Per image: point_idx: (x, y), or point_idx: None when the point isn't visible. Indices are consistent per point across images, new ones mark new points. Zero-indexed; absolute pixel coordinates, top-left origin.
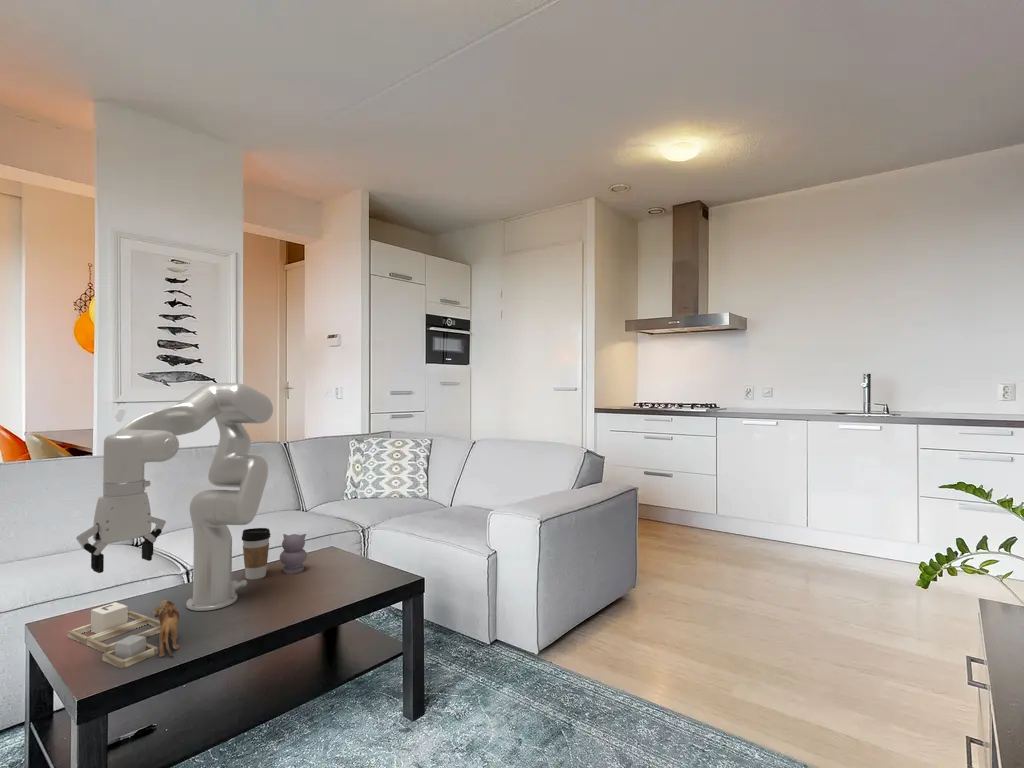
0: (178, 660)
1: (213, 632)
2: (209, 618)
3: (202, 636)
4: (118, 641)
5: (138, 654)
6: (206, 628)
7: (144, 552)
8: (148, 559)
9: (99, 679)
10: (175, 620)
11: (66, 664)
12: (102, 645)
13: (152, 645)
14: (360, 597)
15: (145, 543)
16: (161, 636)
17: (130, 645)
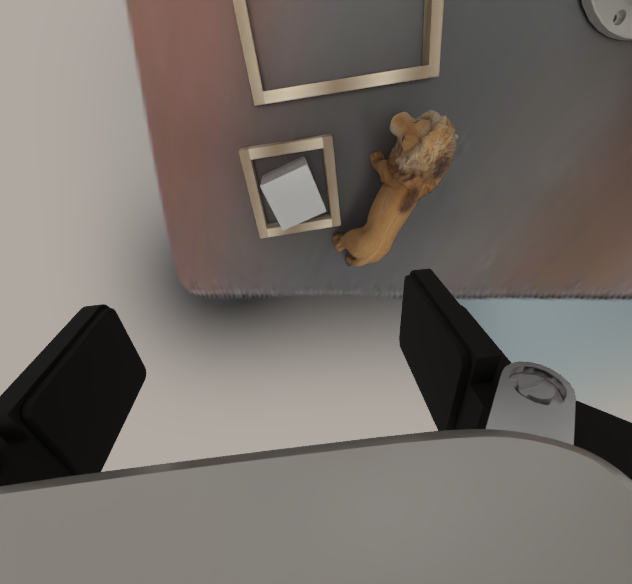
0: (348, 280)
1: (468, 206)
2: (536, 96)
3: (442, 207)
4: (268, 184)
5: (298, 227)
6: (479, 166)
7: (419, 338)
8: (402, 348)
9: (217, 245)
10: (403, 222)
11: (162, 87)
12: (251, 78)
13: (338, 202)
14: None
15: (450, 411)
16: (347, 249)
17: (283, 229)
